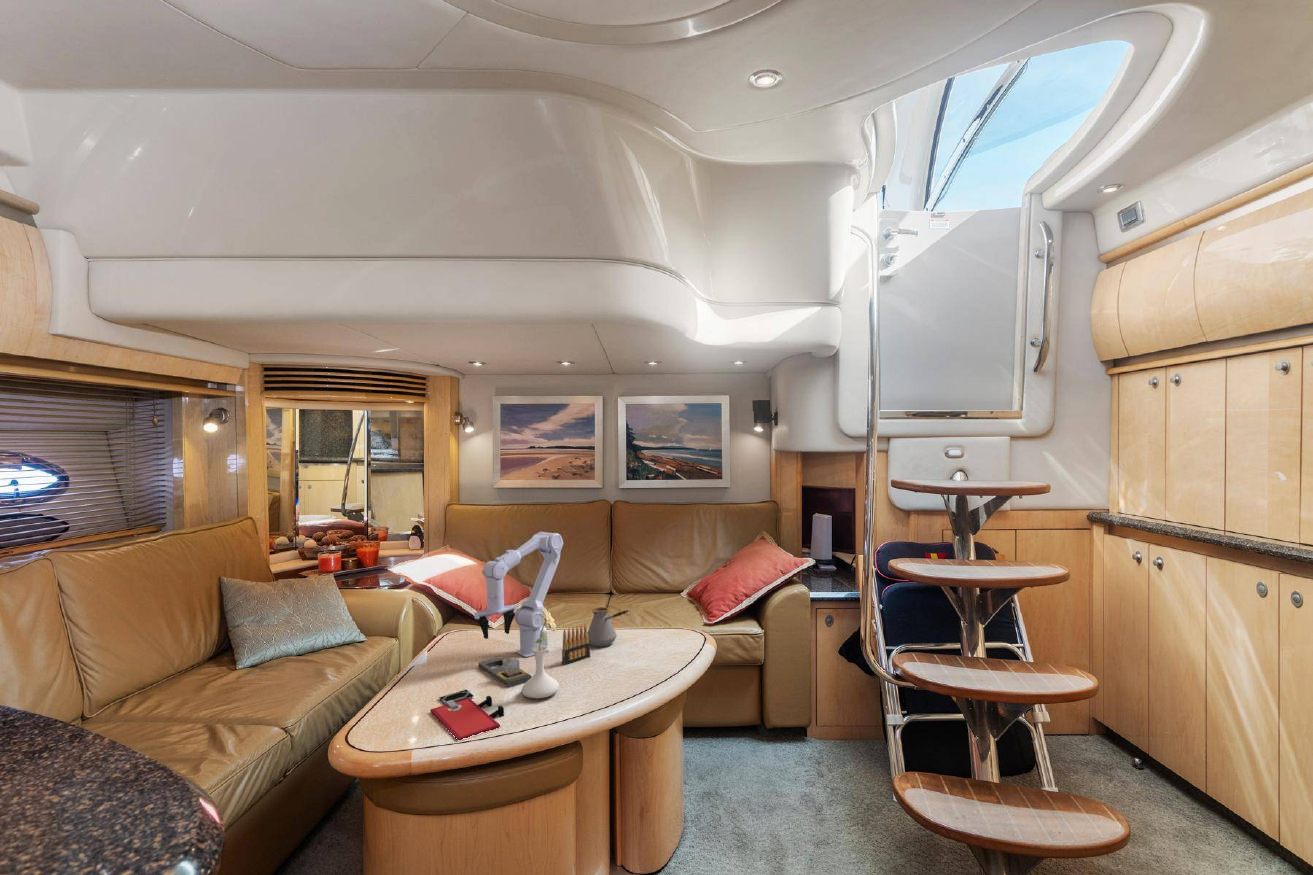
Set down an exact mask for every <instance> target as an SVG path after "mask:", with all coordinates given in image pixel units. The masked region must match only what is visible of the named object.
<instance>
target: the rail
mask: <svg viewBox="0 0 1313 875" xmlns="http://www.w3.org/2000/svg"><path fill="white" fill-rule="evenodd" d="M505 659H506V658H504V657H502V656H499V657H494V658H490V659H486V660H484V661H479V662H478V666H477V667H478V668H479V669H480V670H481V671H483V672H484V673H486V674H487V675H489V676H491V677H492V678H493V679H495V680H496V681H497V682H500V683H501V684H502V685H503V686H505V687H507V688H508V689H509V688H512V687H516V686H519V685H522V684H523V685H524V684H525V683H526V682H527V681H528V680H529V679H530V678H532V677H533V675H531V674H529V673H527V672H526V671H524V670H523V669H521V668H520V675H517V676H514V677H510V678H506V677H505V676H503V666H502V665H503V662H502V660H505ZM497 665H498V666H497Z"/></svg>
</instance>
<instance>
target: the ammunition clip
mask: <svg viewBox="0 0 1313 875" xmlns="http://www.w3.org/2000/svg"><path fill="white" fill-rule="evenodd" d="M583 626H584V627H583ZM579 627H580V628H579ZM590 652H591V650H590V643H589V642H588V626H587V623H586V622H585V623H584V625H583V624H580V626H579V625H576V628H575V627H574V626H572V629H571V628H570V627H568V628H567V630H566V628H564V629H563V633H562V649H561V664H562V665H564V666H568V665H571V664H574V663H576V662H580V661H583V660H585V659H588V658H591V653H590Z"/></svg>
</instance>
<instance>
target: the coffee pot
mask: <svg viewBox="0 0 1313 875" xmlns="http://www.w3.org/2000/svg"><path fill="white" fill-rule="evenodd" d="M609 611H610V609H609V608H608V607H605V606H603V607H595V608H592V610H591V612H592V613H593V617H592V620H591V622H590V626H589V627H588V629H587V631H588V643H589V645H591V646H592V647H596V648H603V647H605V648H606V647H609V646H612V643H613V642H614V641H615V640H616V639H617V632H616V629H615V628H614V626H613V624H612V621H611V619H614V618H616V617H620V616H622V615H626V616H627V617H630V616H631V614H632V612H631V611H630V610H629V609H625V610H622V611H619V612H616V613H615V614H613V615H608V614H609ZM628 612H629V613H630V614H629V615H628V614H627V613H628Z"/></svg>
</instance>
